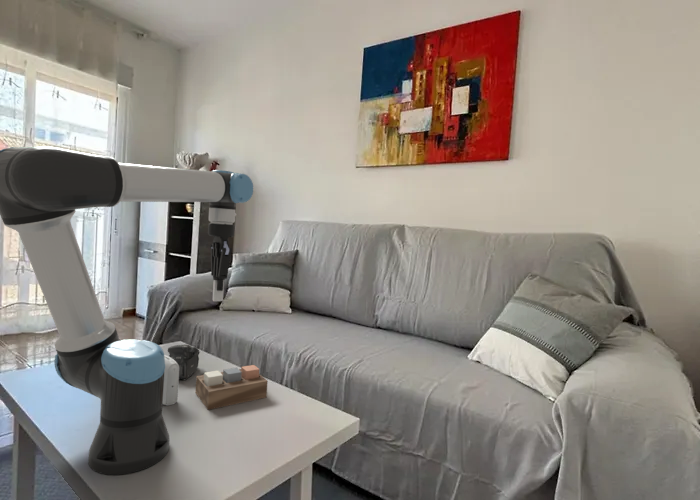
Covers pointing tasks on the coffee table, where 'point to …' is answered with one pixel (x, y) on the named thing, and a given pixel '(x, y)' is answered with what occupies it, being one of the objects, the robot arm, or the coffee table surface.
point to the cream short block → (213, 378)
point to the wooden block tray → (230, 391)
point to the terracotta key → (250, 372)
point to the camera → (185, 359)
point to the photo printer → (170, 381)
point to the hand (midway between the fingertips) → (217, 300)
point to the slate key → (231, 375)
